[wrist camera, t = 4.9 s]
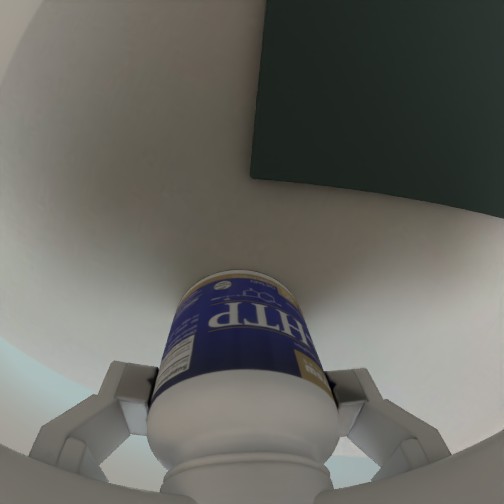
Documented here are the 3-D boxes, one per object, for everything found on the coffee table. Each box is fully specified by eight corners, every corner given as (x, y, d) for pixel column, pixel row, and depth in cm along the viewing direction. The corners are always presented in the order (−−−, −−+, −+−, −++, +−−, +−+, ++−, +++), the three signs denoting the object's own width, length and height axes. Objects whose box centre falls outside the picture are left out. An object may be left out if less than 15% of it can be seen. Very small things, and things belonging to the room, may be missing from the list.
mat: (249, 176, 10) (250, 178, 10) (281, -133, 4) (283, -139, 3) (548, 230, 12) (554, 232, 12) (544, 2, 6) (549, 1, 5)
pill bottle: (323, 296, 12) (419, 488, 4) (263, 381, 14) (288, 553, 6) (204, 243, 11) (162, 477, 3) (158, 343, 13) (114, 532, 4)
